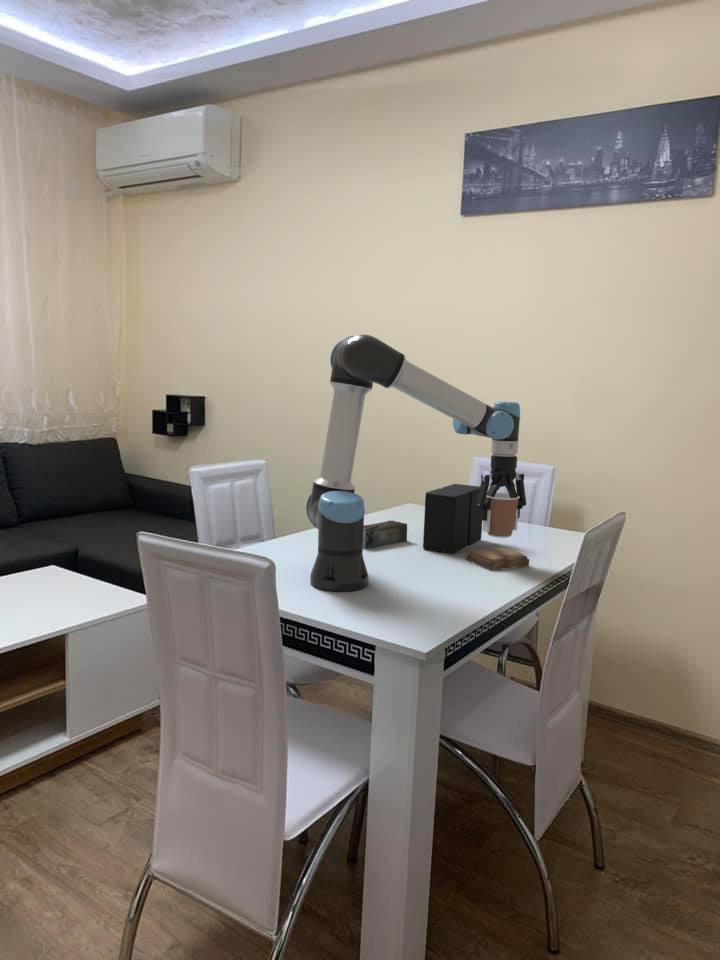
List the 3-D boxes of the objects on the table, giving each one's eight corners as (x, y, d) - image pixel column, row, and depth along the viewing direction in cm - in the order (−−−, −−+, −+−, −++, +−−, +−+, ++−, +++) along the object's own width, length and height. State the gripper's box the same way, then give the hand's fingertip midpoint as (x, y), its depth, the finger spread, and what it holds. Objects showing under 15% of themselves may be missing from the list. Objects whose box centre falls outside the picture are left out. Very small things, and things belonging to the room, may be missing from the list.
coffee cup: (523, 535, 207) (526, 496, 205) (505, 540, 199) (507, 499, 198) (494, 529, 214) (496, 491, 212) (475, 534, 206) (477, 494, 205)
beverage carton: (349, 544, 225) (349, 524, 224) (391, 537, 238) (392, 518, 237) (365, 549, 219) (366, 529, 218) (408, 542, 232) (409, 522, 231)
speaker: (451, 535, 243) (454, 483, 240) (481, 540, 238) (484, 486, 235) (421, 549, 221) (424, 492, 219) (453, 555, 216) (456, 496, 214)
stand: (489, 570, 200) (489, 560, 199) (466, 559, 210) (466, 550, 210) (528, 566, 205) (529, 556, 205) (504, 556, 216) (505, 547, 216)
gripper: (480, 457, 195) (475, 535, 199) (542, 455, 204) (537, 530, 207) (465, 454, 202) (461, 529, 205) (526, 452, 211) (521, 525, 214)
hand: (499, 530), depth 206 cm, fingers closed on coffee cup, 9 cm apart
